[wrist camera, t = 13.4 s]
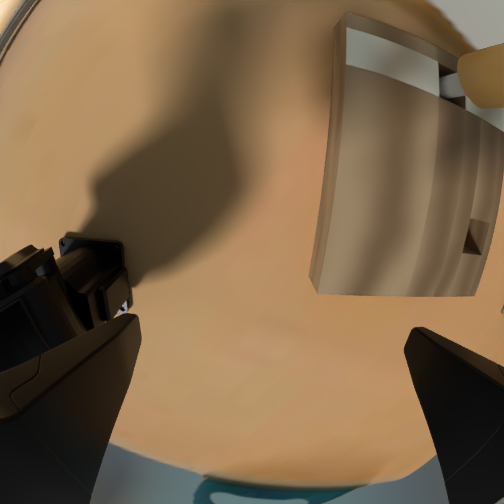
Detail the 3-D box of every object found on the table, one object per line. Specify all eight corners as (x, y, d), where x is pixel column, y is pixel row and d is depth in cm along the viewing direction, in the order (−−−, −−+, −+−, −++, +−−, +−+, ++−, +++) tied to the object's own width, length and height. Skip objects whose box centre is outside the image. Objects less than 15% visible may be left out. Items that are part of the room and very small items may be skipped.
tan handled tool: (420, 115, 17) (563, 108, 4) (406, 69, 16) (536, 26, 3) (452, 112, 17) (581, 112, 4) (439, 69, 16) (561, 43, 2)
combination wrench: (62, -55, 7) (-44, 106, 11) (68, -56, 7) (-41, 109, 12) (76, -42, 10) (-22, 106, 15) (82, -42, 10) (-19, 109, 15)
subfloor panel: (308, 276, 22) (317, 294, 19) (334, 27, 15) (346, 11, 12) (457, 283, 22) (475, 296, 19) (484, 91, 16) (505, 89, 13)
